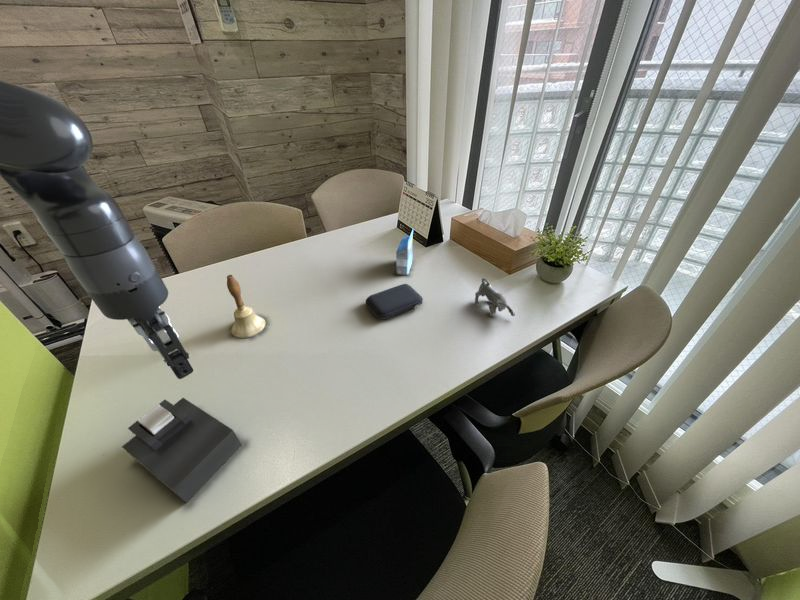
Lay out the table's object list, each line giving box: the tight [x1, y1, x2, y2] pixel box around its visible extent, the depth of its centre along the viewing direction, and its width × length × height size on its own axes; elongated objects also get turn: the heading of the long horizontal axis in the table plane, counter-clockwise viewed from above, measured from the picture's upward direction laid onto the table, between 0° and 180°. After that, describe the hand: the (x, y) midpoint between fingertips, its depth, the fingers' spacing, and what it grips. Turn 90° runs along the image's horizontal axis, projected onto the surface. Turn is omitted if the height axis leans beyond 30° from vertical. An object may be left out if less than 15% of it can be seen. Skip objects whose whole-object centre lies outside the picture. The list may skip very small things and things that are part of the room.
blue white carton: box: [395, 229, 414, 276], centre depth 103 cm, size 9×4×12 cm, turn 169°
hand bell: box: [226, 274, 266, 339], centre depth 80 cm, size 8×8×16 cm
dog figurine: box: [474, 277, 516, 317], centre depth 88 cm, size 12×6×7 cm, turn 27°
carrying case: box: [365, 283, 424, 320], centre depth 90 cm, size 11×3×15 cm
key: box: [137, 404, 175, 435], centre depth 56 cm, size 4×4×2 cm
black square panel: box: [121, 397, 243, 504], centre depth 57 cm, size 15×11×7 cm
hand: (174, 360), depth 51 cm, fingers open, 8 cm apart
